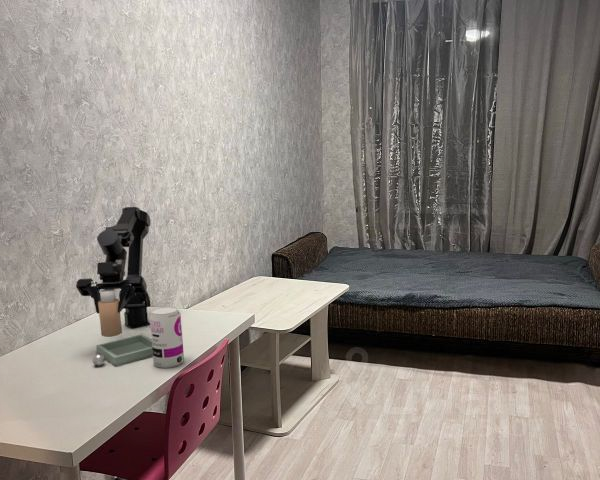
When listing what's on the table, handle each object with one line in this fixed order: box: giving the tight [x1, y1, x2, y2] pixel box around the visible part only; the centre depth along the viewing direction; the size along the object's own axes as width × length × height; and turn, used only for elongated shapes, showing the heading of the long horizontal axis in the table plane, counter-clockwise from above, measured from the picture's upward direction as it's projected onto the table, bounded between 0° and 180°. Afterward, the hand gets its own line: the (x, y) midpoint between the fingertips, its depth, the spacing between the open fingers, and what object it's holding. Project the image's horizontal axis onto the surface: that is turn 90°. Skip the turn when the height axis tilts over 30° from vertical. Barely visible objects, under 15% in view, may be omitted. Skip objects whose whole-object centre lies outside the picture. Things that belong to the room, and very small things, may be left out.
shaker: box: [98, 289, 123, 338], centre depth 171 cm, size 6×6×12 cm
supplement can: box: [149, 306, 185, 369], centre depth 165 cm, size 8×8×15 cm
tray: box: [96, 333, 153, 367], centre depth 175 cm, size 14×14×2 cm
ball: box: [92, 354, 106, 367], centre depth 167 cm, size 3×3×3 cm
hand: (108, 312), depth 170 cm, fingers closed on shaker, 6 cm apart
